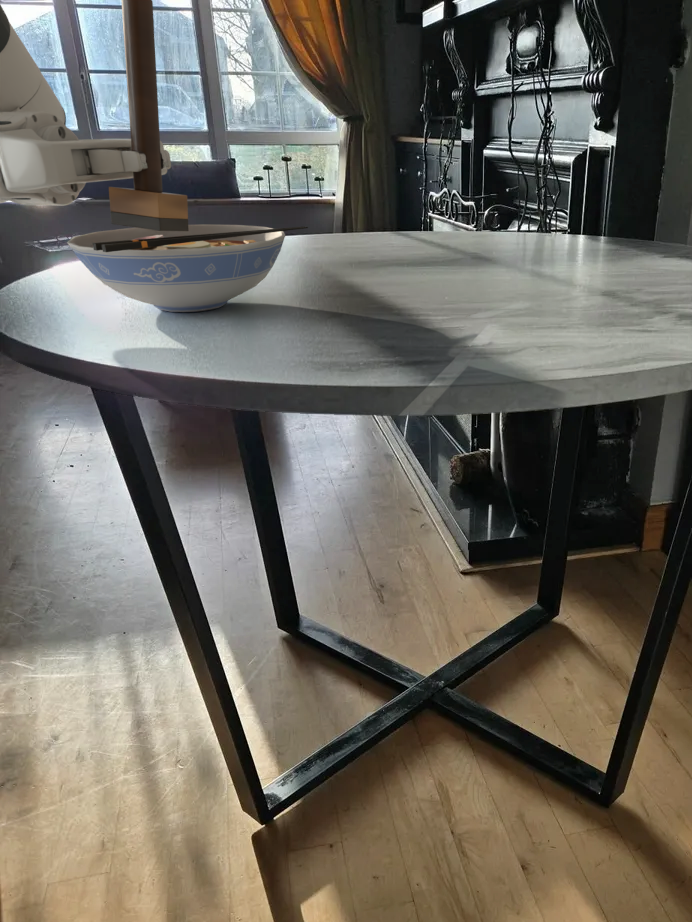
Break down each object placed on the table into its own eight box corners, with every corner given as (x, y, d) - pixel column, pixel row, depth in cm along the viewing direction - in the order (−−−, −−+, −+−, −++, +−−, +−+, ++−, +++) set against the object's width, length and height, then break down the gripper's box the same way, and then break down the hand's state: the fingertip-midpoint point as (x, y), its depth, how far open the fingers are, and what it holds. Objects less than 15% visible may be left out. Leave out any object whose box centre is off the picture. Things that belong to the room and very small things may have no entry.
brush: (111, 223, 82) (92, -11, 73) (141, 224, 86) (127, 2, 77) (160, 230, 81) (147, -8, 72) (188, 231, 85) (179, 6, 76)
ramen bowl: (227, 280, 103) (217, 212, 99) (341, 303, 90) (335, 225, 86) (37, 309, 87) (16, 229, 83) (141, 341, 74) (122, 248, 70)
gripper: (108, 186, 94) (211, 188, 91) (-21, 200, 77) (100, 202, 74) (95, 125, 90) (202, 124, 87) (-42, 125, 74) (84, 124, 70)
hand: (154, 160), depth 80 cm, fingers closed on brush, 3 cm apart
